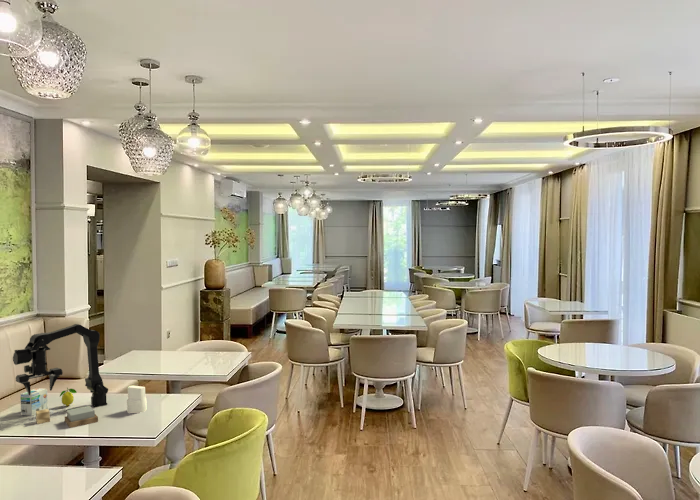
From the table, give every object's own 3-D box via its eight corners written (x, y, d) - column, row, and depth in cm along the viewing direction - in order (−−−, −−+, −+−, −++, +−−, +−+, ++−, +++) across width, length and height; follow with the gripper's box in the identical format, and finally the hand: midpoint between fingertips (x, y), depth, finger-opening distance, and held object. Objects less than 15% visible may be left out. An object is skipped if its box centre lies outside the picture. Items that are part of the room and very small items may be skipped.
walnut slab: (92, 416, 254) (91, 410, 254) (98, 423, 245) (97, 416, 245) (64, 422, 247) (64, 416, 247) (69, 429, 238) (69, 423, 238)
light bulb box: (31, 416, 256) (31, 394, 255) (20, 415, 257) (19, 393, 257) (48, 409, 266) (47, 388, 266) (37, 408, 267) (36, 387, 267)
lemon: (77, 405, 271) (76, 386, 271) (66, 408, 266) (65, 389, 266) (70, 403, 274) (69, 384, 274) (59, 406, 270) (58, 387, 269)
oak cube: (48, 419, 251) (47, 408, 251) (49, 421, 247) (49, 411, 247) (36, 421, 248) (35, 411, 248) (37, 424, 244) (37, 413, 244)
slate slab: (89, 411, 253) (89, 405, 253) (94, 416, 245) (94, 410, 245) (67, 416, 247) (66, 410, 247) (71, 422, 239) (71, 415, 239)
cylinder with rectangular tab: (123, 412, 258) (122, 388, 257) (137, 407, 266) (136, 383, 266) (137, 414, 254) (136, 390, 254) (150, 408, 263) (149, 385, 262)
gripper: (53, 354, 261) (54, 385, 261) (11, 362, 247) (12, 394, 247) (62, 357, 253) (63, 389, 254) (19, 365, 239) (20, 398, 240)
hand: (40, 392), depth 249 cm, fingers open, 9 cm apart
